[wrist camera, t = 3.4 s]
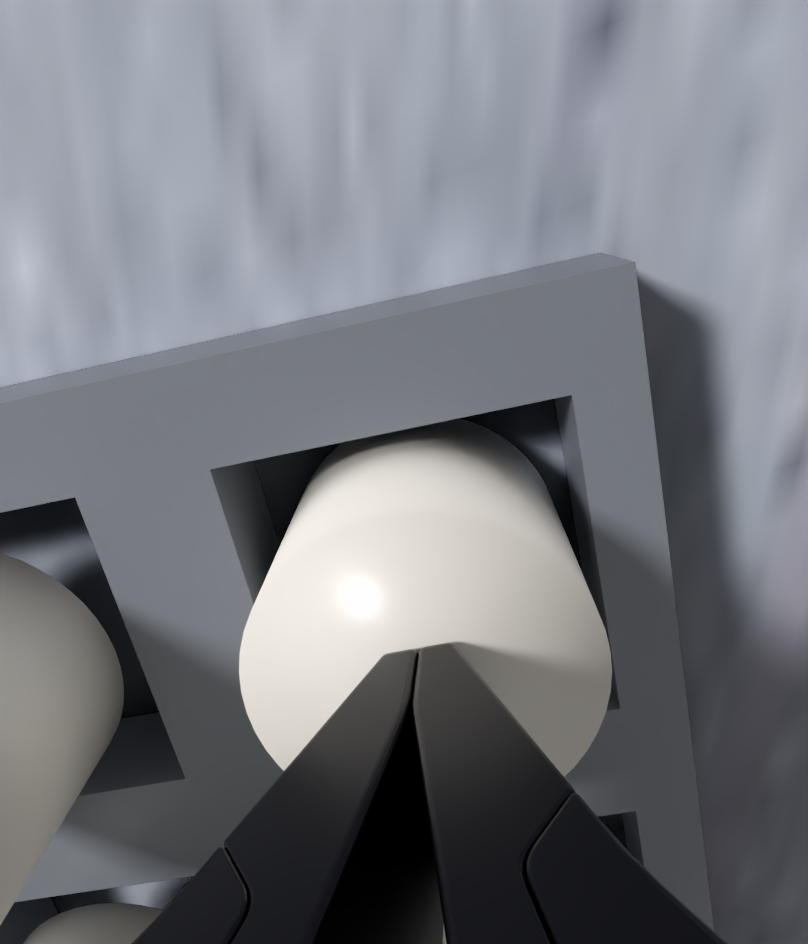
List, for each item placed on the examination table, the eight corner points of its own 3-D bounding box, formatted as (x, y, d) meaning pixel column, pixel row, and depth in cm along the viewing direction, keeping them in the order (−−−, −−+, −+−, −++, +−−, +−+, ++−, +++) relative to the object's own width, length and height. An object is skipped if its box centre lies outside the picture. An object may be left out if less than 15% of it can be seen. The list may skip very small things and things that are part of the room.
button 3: (533, 388, 12) (583, 475, 8) (574, 629, 13) (633, 801, 9) (264, 444, 12) (190, 552, 8) (332, 671, 14) (294, 850, 10)
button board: (600, 252, 11) (643, 264, 9) (715, 1122, 17) (758, 1258, 15) (-237, 441, 13) (-383, 492, 10) (151, 1180, 19) (114, 1312, 17)
